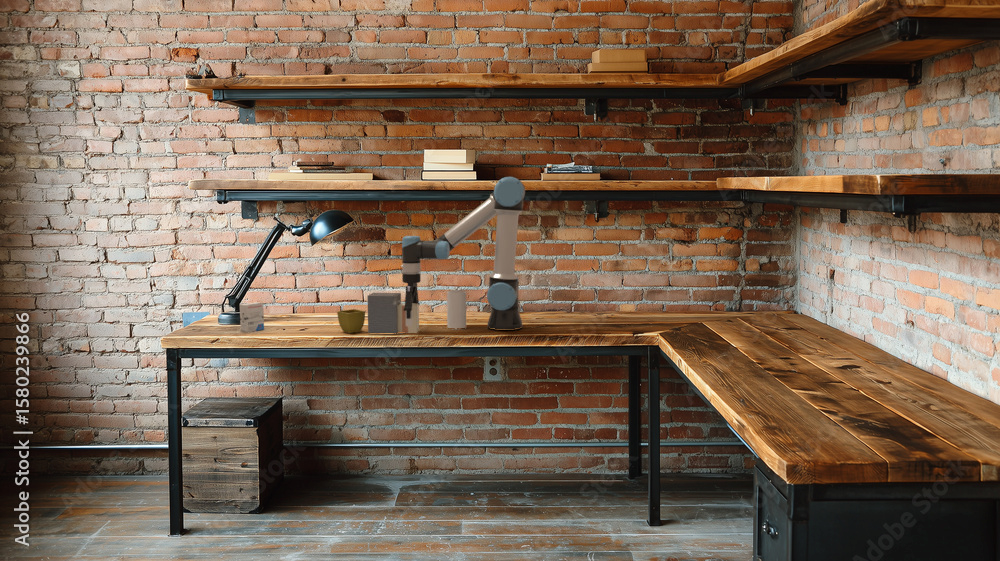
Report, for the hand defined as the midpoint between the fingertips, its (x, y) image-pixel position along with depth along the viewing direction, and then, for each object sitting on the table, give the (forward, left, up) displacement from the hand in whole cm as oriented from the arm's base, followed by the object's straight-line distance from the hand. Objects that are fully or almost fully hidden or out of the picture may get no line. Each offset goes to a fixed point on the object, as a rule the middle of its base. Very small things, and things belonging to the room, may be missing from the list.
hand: (411, 323), depth 309 cm
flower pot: (+25, +1, -4) cm, 26 cm away
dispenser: (+11, 0, -4) cm, 12 cm away
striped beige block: (+3, 0, -4) cm, 5 cm away
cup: (-18, -12, -4) cm, 22 cm away
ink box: (+68, 0, -4) cm, 69 cm away
